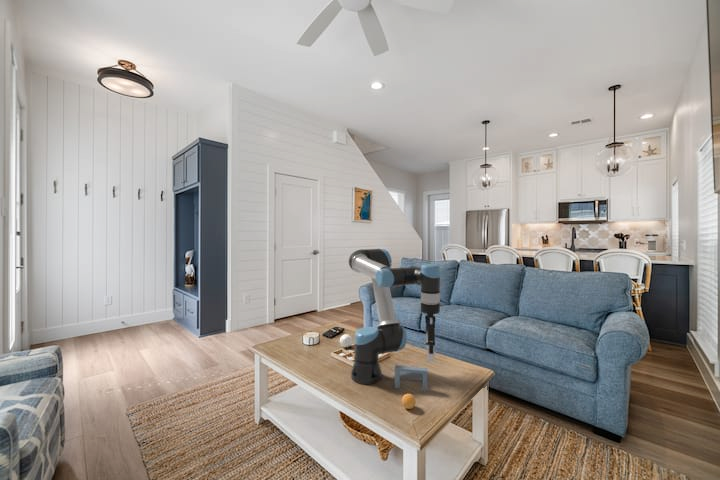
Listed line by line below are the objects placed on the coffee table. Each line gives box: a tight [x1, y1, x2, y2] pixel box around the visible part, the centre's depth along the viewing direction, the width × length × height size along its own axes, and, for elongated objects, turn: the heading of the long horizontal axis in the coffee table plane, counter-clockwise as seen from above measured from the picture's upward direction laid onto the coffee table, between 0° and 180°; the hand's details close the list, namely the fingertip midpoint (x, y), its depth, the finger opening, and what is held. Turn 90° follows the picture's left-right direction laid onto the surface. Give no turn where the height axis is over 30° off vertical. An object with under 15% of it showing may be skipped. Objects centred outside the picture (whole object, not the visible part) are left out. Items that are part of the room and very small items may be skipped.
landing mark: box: [400, 371, 423, 382], centre depth 155 cm, size 13×13×1 cm
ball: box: [401, 393, 416, 410], centre depth 125 cm, size 6×6×6 cm
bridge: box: [394, 364, 429, 392], centre depth 141 cm, size 3×14×9 cm, turn 77°
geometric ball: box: [339, 333, 353, 348], centre depth 190 cm, size 8×8×8 cm
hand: (430, 354), depth 127 cm, fingers open, 13 cm apart
